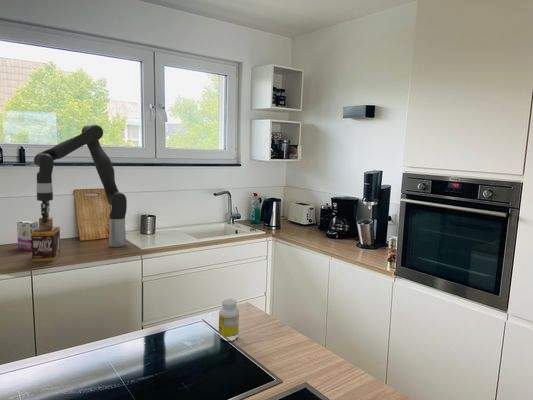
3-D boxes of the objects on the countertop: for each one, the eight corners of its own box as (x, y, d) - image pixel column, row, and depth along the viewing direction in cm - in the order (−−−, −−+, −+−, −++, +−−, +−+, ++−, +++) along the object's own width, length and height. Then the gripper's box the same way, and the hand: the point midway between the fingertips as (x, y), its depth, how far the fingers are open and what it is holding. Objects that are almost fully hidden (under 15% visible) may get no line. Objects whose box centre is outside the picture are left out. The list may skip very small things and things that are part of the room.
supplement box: (32, 261, 206) (30, 232, 204) (40, 254, 221) (39, 226, 219) (54, 261, 209) (53, 232, 207) (60, 253, 224) (59, 226, 222)
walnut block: (52, 227, 217) (52, 217, 216) (52, 230, 212) (51, 219, 211) (40, 228, 215) (40, 217, 214) (39, 230, 209) (38, 219, 209)
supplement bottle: (219, 333, 137) (220, 297, 135) (238, 333, 137) (239, 298, 135) (217, 342, 130) (218, 305, 128) (238, 343, 130) (239, 305, 129)
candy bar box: (39, 249, 229) (38, 221, 227) (31, 251, 224) (30, 223, 222) (25, 247, 233) (24, 219, 231) (17, 249, 228) (16, 221, 226)
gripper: (51, 193, 205) (52, 223, 208) (53, 189, 218) (54, 218, 220) (35, 193, 202) (36, 224, 204) (38, 189, 215) (39, 219, 217)
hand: (45, 221), depth 212 cm, fingers open, 8 cm apart
